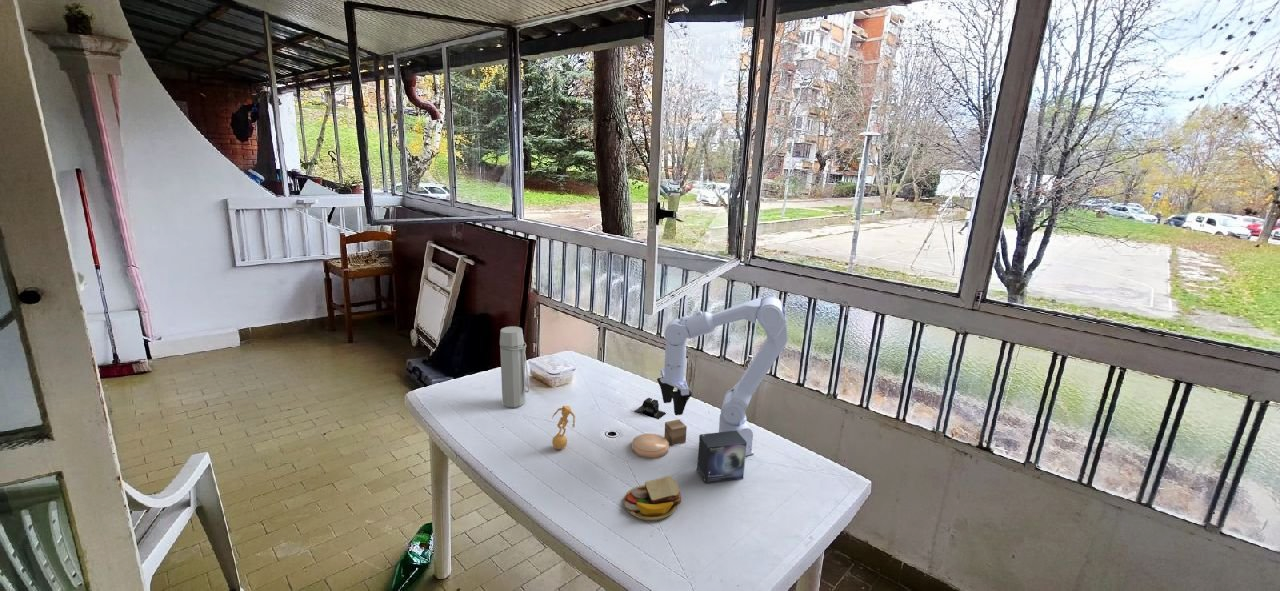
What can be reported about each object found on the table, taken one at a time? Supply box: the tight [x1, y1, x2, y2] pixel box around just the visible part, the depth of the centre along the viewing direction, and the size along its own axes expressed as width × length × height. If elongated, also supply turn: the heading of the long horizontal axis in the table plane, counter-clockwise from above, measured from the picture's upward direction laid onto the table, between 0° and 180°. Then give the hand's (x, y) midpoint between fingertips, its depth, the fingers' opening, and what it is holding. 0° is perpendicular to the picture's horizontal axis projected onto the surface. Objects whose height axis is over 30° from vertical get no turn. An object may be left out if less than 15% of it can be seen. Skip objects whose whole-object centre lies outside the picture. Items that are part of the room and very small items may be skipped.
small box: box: [696, 430, 747, 484], centre depth 136 cm, size 11×6×10 cm, turn 105°
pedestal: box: [631, 433, 670, 459], centre depth 149 cm, size 10×10×2 cm
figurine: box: [551, 405, 576, 450], centre depth 147 cm, size 8×6×12 cm
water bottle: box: [499, 326, 531, 409], centre depth 169 cm, size 9×8×25 cm
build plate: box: [633, 397, 667, 420], centre depth 169 cm, size 12×7×5 cm, turn 57°
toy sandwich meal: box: [622, 475, 682, 522], centre depth 125 cm, size 12×14×5 cm
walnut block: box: [663, 419, 688, 446], centre depth 153 cm, size 4×4×5 cm
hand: (672, 408), depth 152 cm, fingers open, 7 cm apart
